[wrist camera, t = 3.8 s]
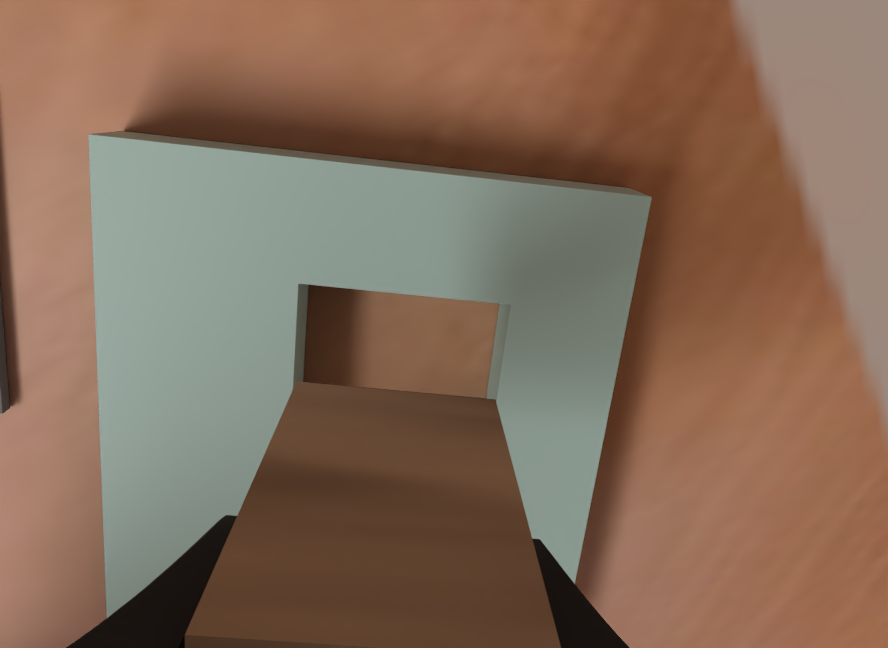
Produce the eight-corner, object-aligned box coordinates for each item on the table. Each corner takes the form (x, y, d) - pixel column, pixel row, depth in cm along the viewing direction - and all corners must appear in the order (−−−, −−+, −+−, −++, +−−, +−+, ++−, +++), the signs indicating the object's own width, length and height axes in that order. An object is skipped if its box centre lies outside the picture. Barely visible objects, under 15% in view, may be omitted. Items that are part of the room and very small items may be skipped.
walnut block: (471, 567, 15) (511, 921, 9) (286, 553, 15) (183, 908, 8) (495, 399, 14) (564, 659, 8) (296, 381, 14) (184, 634, 7)
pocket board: (542, 647, 25) (553, 693, 23) (133, 620, 24) (108, 666, 22) (629, 187, 20) (651, 197, 18) (121, 130, 19) (88, 134, 17)
